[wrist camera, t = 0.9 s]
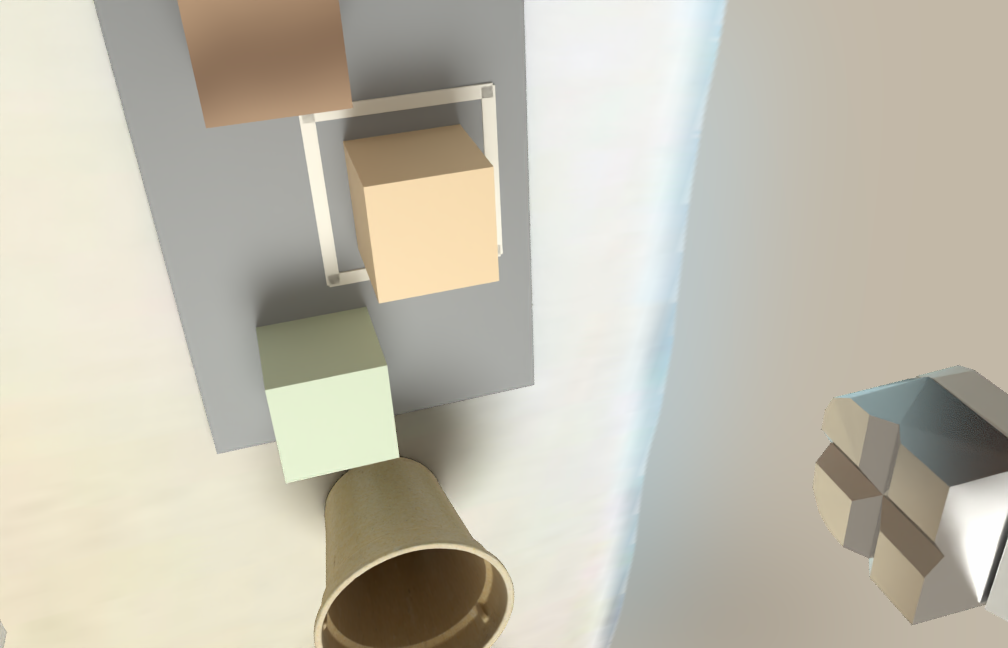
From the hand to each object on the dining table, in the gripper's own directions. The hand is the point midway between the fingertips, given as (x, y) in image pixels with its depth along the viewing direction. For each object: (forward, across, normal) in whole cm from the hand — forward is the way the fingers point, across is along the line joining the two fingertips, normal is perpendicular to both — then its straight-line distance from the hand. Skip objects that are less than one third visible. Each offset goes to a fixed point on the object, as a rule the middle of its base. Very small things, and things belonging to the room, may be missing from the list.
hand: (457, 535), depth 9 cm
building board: (+31, -2, +9) cm, 32 cm away
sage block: (+30, 0, +17) cm, 35 cm away
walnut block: (+30, 0, +1) cm, 30 cm away
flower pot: (+32, -2, +27) cm, 41 cm away
